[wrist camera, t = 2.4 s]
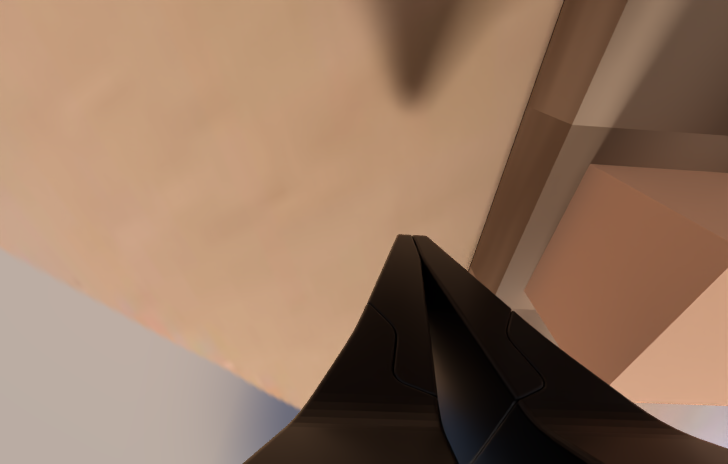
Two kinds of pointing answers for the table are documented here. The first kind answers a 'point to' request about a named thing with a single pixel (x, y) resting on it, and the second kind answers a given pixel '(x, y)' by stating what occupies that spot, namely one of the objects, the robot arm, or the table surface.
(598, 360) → the terracotta block
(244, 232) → the table surface
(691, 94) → the trap board
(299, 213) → the table surface
